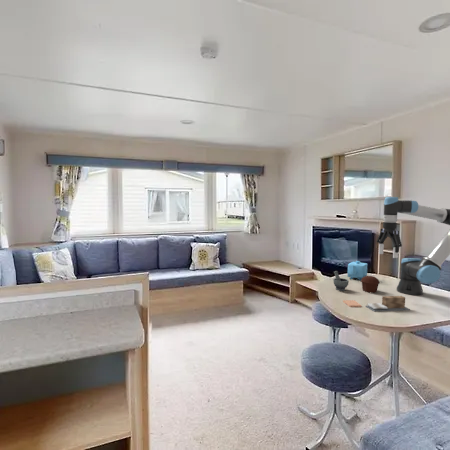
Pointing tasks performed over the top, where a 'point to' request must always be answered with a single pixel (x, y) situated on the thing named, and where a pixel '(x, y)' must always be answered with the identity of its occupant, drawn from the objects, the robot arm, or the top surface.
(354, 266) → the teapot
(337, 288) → the mortar and pestle
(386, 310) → the tool mat
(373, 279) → the muffin
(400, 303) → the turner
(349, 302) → the tile
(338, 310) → the top surface
